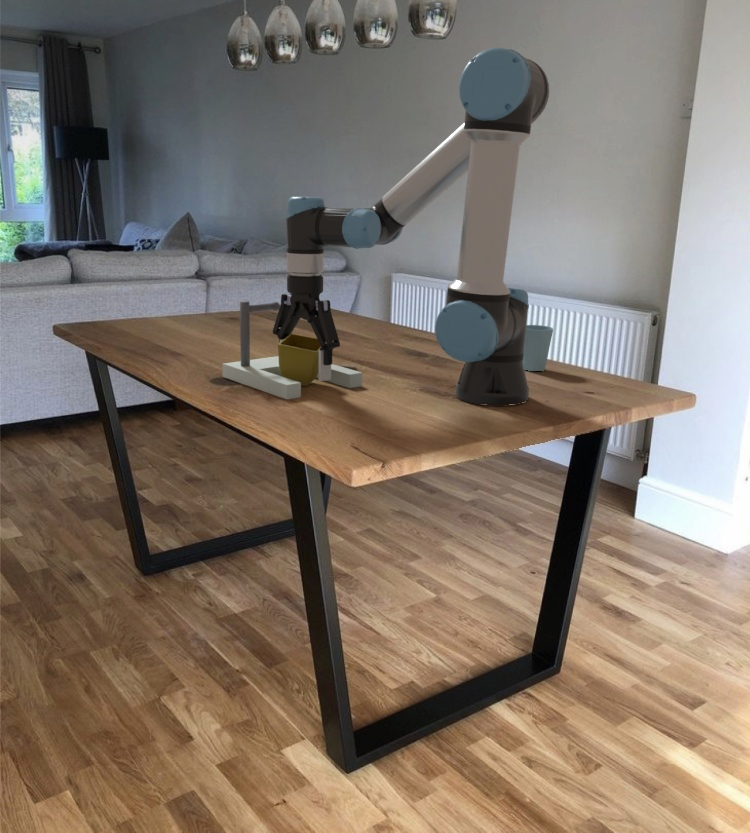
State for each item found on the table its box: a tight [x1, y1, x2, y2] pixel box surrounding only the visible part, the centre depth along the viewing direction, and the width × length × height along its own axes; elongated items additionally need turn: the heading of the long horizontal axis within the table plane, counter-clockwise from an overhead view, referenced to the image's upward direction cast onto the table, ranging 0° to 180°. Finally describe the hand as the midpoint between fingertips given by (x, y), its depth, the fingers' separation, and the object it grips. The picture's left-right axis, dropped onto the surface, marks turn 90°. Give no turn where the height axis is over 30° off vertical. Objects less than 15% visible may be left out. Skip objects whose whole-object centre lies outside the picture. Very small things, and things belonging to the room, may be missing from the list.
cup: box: [523, 324, 554, 372], centre depth 194 cm, size 8×8×10 cm
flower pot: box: [277, 333, 321, 387], centre depth 172 cm, size 9×9×9 cm
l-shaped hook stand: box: [222, 300, 363, 400], centre depth 173 cm, size 24×20×17 cm
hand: (304, 374), depth 172 cm, fingers open, 13 cm apart
